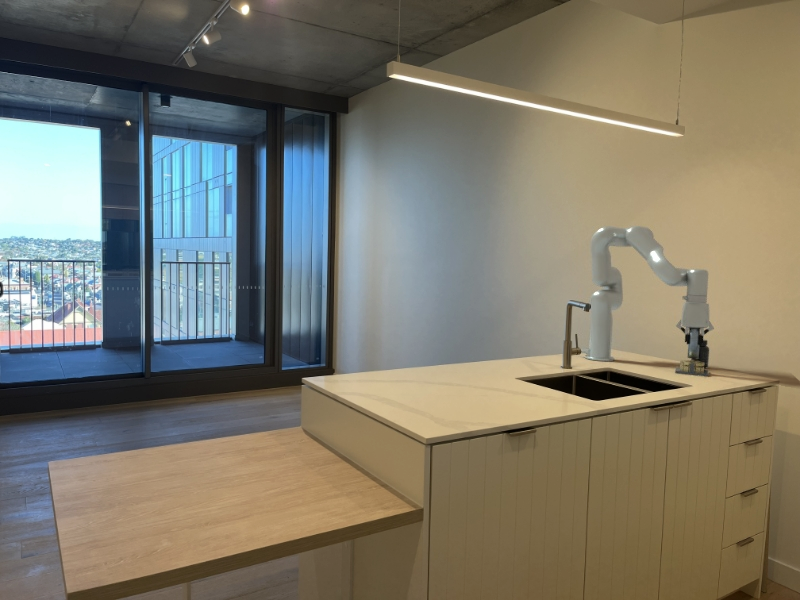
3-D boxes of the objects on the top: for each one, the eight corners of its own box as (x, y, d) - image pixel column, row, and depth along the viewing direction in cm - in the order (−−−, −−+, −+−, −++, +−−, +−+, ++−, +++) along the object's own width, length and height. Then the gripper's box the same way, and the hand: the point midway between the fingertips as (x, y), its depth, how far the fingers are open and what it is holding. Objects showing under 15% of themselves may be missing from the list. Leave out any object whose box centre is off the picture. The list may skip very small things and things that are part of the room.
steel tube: (687, 358, 248) (689, 323, 247) (687, 356, 252) (689, 323, 251) (698, 359, 246) (700, 324, 246) (698, 357, 250) (700, 323, 249)
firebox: (675, 373, 247) (675, 362, 247) (675, 369, 258) (676, 358, 257) (708, 376, 242) (709, 365, 241) (707, 372, 252) (708, 361, 252)
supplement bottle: (687, 366, 268) (688, 338, 267) (698, 365, 271) (699, 338, 270) (700, 368, 262) (702, 340, 261) (711, 368, 265) (713, 340, 264)
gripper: (673, 298, 248) (670, 343, 249) (720, 301, 241) (717, 347, 242) (674, 298, 255) (671, 342, 256) (719, 300, 248) (716, 345, 249)
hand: (693, 344), depth 249 cm, fingers closed on steel tube, 4 cm apart
